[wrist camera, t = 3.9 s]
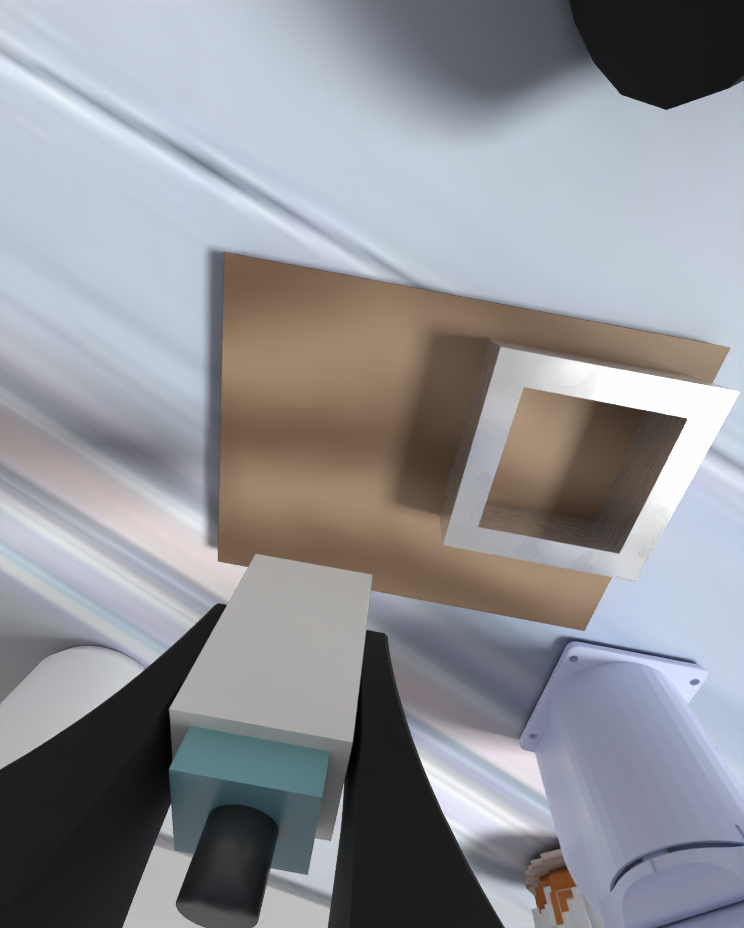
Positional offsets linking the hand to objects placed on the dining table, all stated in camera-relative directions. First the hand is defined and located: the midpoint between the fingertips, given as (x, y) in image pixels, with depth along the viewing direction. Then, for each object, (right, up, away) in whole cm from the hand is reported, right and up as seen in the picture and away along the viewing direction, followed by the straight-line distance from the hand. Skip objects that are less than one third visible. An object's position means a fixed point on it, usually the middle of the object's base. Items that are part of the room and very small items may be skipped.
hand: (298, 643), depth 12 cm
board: (+5, +5, +8) cm, 11 cm away
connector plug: (0, +1, +1) cm, 1 cm away
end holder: (+10, +6, +6) cm, 13 cm away
